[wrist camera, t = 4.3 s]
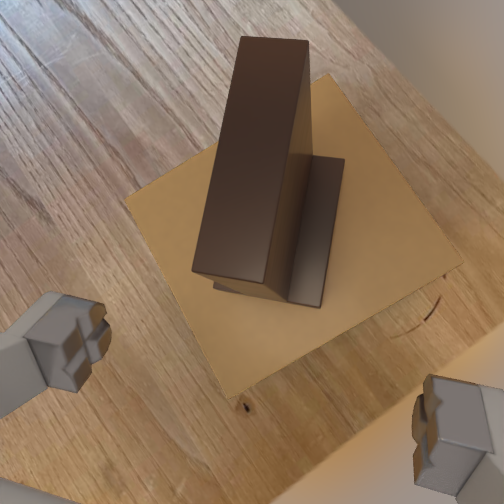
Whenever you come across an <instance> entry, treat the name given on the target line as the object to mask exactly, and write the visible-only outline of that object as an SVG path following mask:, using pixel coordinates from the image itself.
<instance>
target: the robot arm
mask: <svg viewBox="0 0 504 504" xmlns="http://www.w3.org/2000/svg"><path fill="white" fill-rule="evenodd" d="M106 314H107V312H106V309H105V306H104V304H102V303H99V302H95V301H91V300H87V299H83V298H79V297H75V296H71V295H66V294H62V293H58V292H54V291H49V292H47V293H44V294H43V295H42V296H41V297H40V298H39V299H38V300H37V301H36V302H35V303H34V304H33V305H32V306H31V307H30V308H29V309H28V310H27V311H26V312H25V313H24V314H23V315H22V316H20V317H19V318H18V319H17V320H16V321H15V322H14V323H13V324H12V325H11V326H10V327H9V328H8V329H7V330H6V331H5V332H4V333H2V332H0V419H1V418H3V417H4V416H6V415H8V414H9V413H11V412H12V411H14V410H15V409H17V408H18V407H20V406H21V405H23V404H24V403H26V402H28V401H29V400H31V399H32V398H34V397H35V396H37V395H38V394H40V393H41V392H43V391H44V390H46V389H47V388H48V387H52V388H56V389H61V390H65V391H69V392H73V393H78V391H79V390H80V389H81V387H82V386H83V384H84V383H85V382H86V380H87V379H88V378H89V376H90V375H91V373H92V364H94V363H96V362H97V361H99V360H101V359H102V358H103V356H104V355H105V353H106V352H107V350H108V347H109V345H110V342H111V328H110V325H109V324H108V323H107V322H106V321H105V319H104V316H105V315H106ZM47 386H48V387H47ZM423 392H424V393H423V394H421V395H419V396H418V397H417V399H416V402H415V405H414V410H413V415H412V437H413V438H414V440H415V441H416V443H417V444H418V445H417V448H416V450H415V452H414V454H413V466H414V484H415V485H418V486H421V487H424V488H428V489H431V490H434V491H438V492H441V493H444V494H448V495H451V496H455V497H456V501H457V503H458V504H504V391H503V390H502V389H498V388H494V387H489V386H484V385H480V384H475V383H471V382H467V381H462V380H457V379H452V378H447V377H443V376H438V375H433V374H428V375H427V376H426V378H425V380H424V383H423ZM0 504H81V503H78V502H75V501H72V500H69V499H65V498H62V497H59V496H56V495H53V494H50V493H47V492H44V491H41V490H38V489H35V488H32V487H29V486H26V485H23V484H20V483H17V482H14V481H11V480H8V479H5V478H2V477H0Z"/></svg>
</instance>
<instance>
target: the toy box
mask: <svg viewBox="0 0 504 504" xmlns="http://www.w3.org/2000/svg"><path fill="white" fill-rule="evenodd" d="M310 88H311V116H312V144H313V155H317V156H326V157H334V158H343V159H345V164H344V170H343V177H342V183H341V189H340V195H339V201H338V207H337V213H336V219H335V225H334V231H333V238H332V244H331V250H330V256H329V262H328V268H327V274H326V280H325V286H324V292H323V298H322V305H321V308H320V309H317V308H311V307H306V306H300V305H295V304H289V303H284V302H279V301H273V300H268V299H262V298H257V297H251V296H246V295H241V294H235V293H230V292H224V291H219V290H216V289H214V288H213V283H214V281H212V280H210V279H207V278H205V277H203V276H200V275H198V274H196V273H193V272H192V271H191V268H192V264H193V259H194V254H195V250H196V245H197V240H198V235H199V231H200V226H201V221H202V217H203V212H204V207H205V203H206V198H207V193H208V188H209V184H210V179H211V174H212V170H213V165H214V160H215V155H216V151H217V146H218V142H216V143H215V144H213V145H211V146H210V147H208V148H206V149H205V150H203V151H202V152H200V153H198V154H197V155H195V156H193V157H192V158H190V159H189V160H187V161H185V162H184V163H182V164H180V165H179V166H177V167H176V168H174V169H172V170H171V171H169V172H167V173H166V174H164V175H163V176H161V177H159V178H158V179H156V180H154V181H153V182H151V183H150V184H148V185H146V186H145V187H143V188H141V189H140V190H138V191H137V192H135V193H133V194H132V195H130V196H129V197H127V198H125V199H124V200H125V202H126V204H127V206H128V208H129V210H130V212H131V214H132V216H133V218H134V220H135V222H136V224H137V226H138V228H139V229H140V231H141V233H142V235H143V237H144V239H145V241H146V243H147V245H148V247H149V249H150V251H151V253H152V255H153V256H154V258H155V260H156V262H157V264H158V266H159V268H160V270H161V272H162V274H163V276H164V278H165V280H166V282H167V284H168V285H169V287H170V289H171V291H172V293H173V295H174V297H175V299H176V301H177V303H178V305H179V307H180V309H181V311H182V312H183V314H184V316H185V318H186V320H187V322H188V324H189V326H190V328H191V330H192V332H193V334H194V336H195V338H196V340H197V341H198V343H199V345H200V347H201V349H202V351H203V353H204V355H205V357H206V359H207V361H208V363H209V365H210V367H211V368H212V370H213V372H214V374H215V376H216V378H217V380H218V382H219V384H220V386H221V388H222V390H223V392H224V394H225V396H226V397H227V399H228V400H229V399H231V398H232V397H234V396H236V395H238V394H239V393H241V392H243V391H244V390H246V389H248V388H250V387H251V386H253V385H255V384H257V383H258V382H260V381H262V380H263V379H265V378H267V377H269V376H270V375H272V374H274V373H275V372H277V371H279V370H281V369H282V368H284V367H286V366H287V365H289V364H291V363H293V362H294V361H296V360H298V359H300V358H301V357H303V356H305V355H306V354H308V353H310V352H312V351H313V350H315V349H317V348H318V347H320V346H322V345H324V344H325V343H327V342H329V341H330V340H332V339H334V338H336V337H337V336H339V335H341V334H343V333H344V332H346V331H348V330H349V329H351V328H353V327H355V326H356V325H358V324H360V323H361V322H363V321H365V320H367V319H368V318H370V317H372V316H373V315H375V314H377V313H379V312H380V311H382V310H384V309H385V308H387V307H389V306H391V305H392V304H394V303H396V302H398V301H399V300H401V299H403V298H404V297H406V296H408V295H410V294H411V293H413V292H415V291H416V290H418V289H420V288H422V287H423V286H425V285H427V284H428V283H430V282H432V281H434V280H435V279H437V278H439V277H441V276H442V275H444V274H446V273H447V272H449V271H451V270H453V269H454V268H456V267H458V266H459V265H461V264H463V263H464V260H463V259H462V258H461V256H460V255H459V253H458V252H457V251H456V249H455V248H454V246H453V245H452V244H451V242H450V241H449V239H448V238H447V237H446V235H445V234H444V233H443V231H442V230H441V228H440V227H439V226H438V224H437V223H436V221H435V220H434V219H433V217H432V216H431V214H430V213H429V212H428V210H427V209H426V208H425V206H424V205H423V203H422V202H421V201H420V199H419V198H418V196H417V195H416V194H415V192H414V191H413V189H412V188H411V187H410V185H409V184H408V182H407V181H406V180H405V178H404V177H403V176H402V174H401V173H400V171H399V170H398V169H397V167H396V166H395V164H394V163H393V162H392V160H391V159H390V157H389V156H388V155H387V153H386V152H385V151H384V149H383V148H382V146H381V145H380V144H379V142H378V141H377V139H376V138H375V137H374V135H373V134H372V132H371V131H370V130H369V128H368V127H367V126H366V124H365V123H364V121H363V120H362V119H361V117H360V116H359V114H358V113H357V112H356V110H355V109H354V107H353V106H352V105H351V103H350V102H349V101H348V99H347V98H346V96H345V95H344V94H343V92H342V91H341V89H340V88H339V87H338V85H337V84H336V82H335V81H334V80H333V78H332V77H331V76H330V74H329V73H328V74H326V75H325V76H323V77H322V78H320V79H318V80H317V81H315V82H314V83H312V84H310Z"/></svg>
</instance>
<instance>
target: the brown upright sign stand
mask: <svg viewBox="0 0 504 504" xmlns="http://www.w3.org/2000/svg"><path fill="white" fill-rule="evenodd" d="M344 164H345V159H343V158H334V157H326V156H317V155H313V144H312V116H311V88H310V59H309V41H308V40H297V39H282V38H266V37H251V36H241V38H240V42H239V47H238V52H237V57H236V61H235V66H234V71H233V75H232V80H231V85H230V89H229V94H228V99H227V104H226V108H225V113H224V118H223V122H222V127H221V132H220V137H219V141H218V146H217V151H216V155H215V160H214V165H213V170H212V174H211V179H210V184H209V188H208V193H207V198H206V203H205V207H204V212H203V217H202V221H201V226H200V231H199V235H198V240H197V245H196V250H195V254H194V259H193V264H192V268H191V271H192V272H193V273H196V274H198V275H200V276H203V277H205V278H207V279H210V280H212V281H214V283H213V288H214V289H216V290H219V291H224V292H230V293H235V294H241V295H246V296H251V297H257V298H262V299H268V300H273V301H279V302H284V303H289V304H295V305H300V306H306V307H311V308H317V309H320V308H321V305H322V298H323V292H324V286H325V280H326V274H327V268H328V262H329V256H330V250H331V244H332V238H333V231H334V225H335V219H336V213H337V207H338V201H339V195H340V189H341V183H342V177H343V170H344Z"/></svg>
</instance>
